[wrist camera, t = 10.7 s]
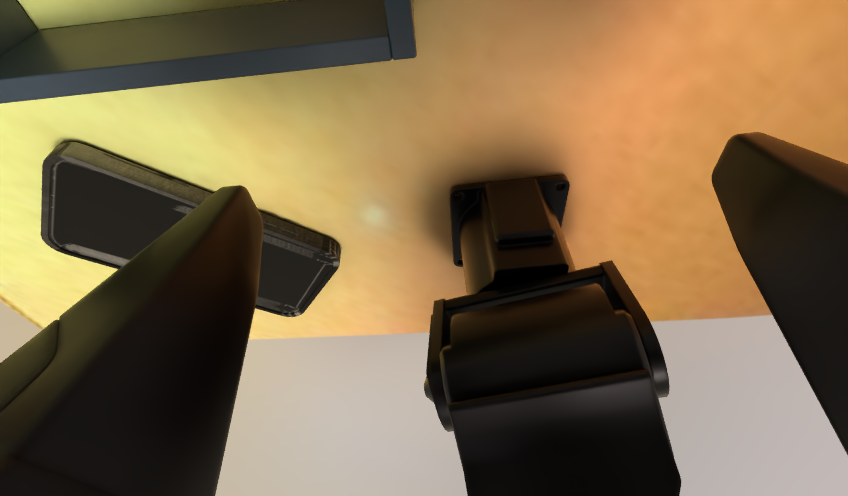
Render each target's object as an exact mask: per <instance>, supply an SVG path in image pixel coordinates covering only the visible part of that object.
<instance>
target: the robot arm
mask: <svg viewBox="0 0 848 496" xmlns="http://www.w3.org/2000/svg"><path fill="white" fill-rule="evenodd" d="M560 183H562V184H561V185H559V186H556V185H558V184H560ZM712 184H713V187H714V190H715V192H716V195H717V197H718V200H719V203H720V205H721V208H722V210H723V213H724V216H725V218H726V221H727V223H728V226H729V228H730V231H731V234H732V236H733V239H734V241H735V244H736V246H737V248H738V251H739V253H740V255H741V257H742V259H743V261H744V263H745V265H746V266H747V268H748V270H749V272H750V274H751V276H752V278H753V279H754V281H755V283H756V285H757V287H758V289H759V291H760V292H761V294H762V296H763V298H764V300H765V302H766V304H767V306H768V307H769V309H770V311H771V313H772V315H773V317H774V319H775V320H776V322H777V324H778V326H779V328H780V330H781V331H782V333H783V335H784V337H785V339H786V341H787V343H788V345H789V347H790V348H791V350H792V352H793V354H794V356H795V358H796V360H797V361H798V363H799V365H800V367H801V369H802V371H803V373H804V375H805V376H806V378H807V380H808V382H809V384H810V386H811V388H812V389H813V391H814V393H815V395H816V397H817V399H818V401H819V402H820V404H821V406H822V408H823V410H824V412H825V414H826V416H827V417H828V419H829V421H830V423H831V425H832V427H833V429H834V430H835V432H836V434H837V436H838V438H839V440H840V442H841V443H842V445H843V447H844V449H845V451H846V453H847V455H848V164H845V163H843V162H840V161H837V160H835V159H832V158H829V157H826V156H824V155H821V154H818V153H815V152H813V151H810V150H807V149H805V148H802V147H799V146H796V145H794V144H791V143H788V142H786V141H783V140H780V139H777V138H775V137H772V136H769V135H767V134H764V133H760V132H753V133H744V134H737V135H734V136H733V137H731V138H730V139H729V140H728V142H727V144H726V146H725V148H724V150H723V152H722V154H721V156H720V158H719V160H718V162H717V164H716V166H715V168H714V170H713V173H712ZM568 191H569V181H568V179H567V177H566V176H564V175H555V176H545V177H535V178H524V179H514V180H504V181H494V182H484V183H473V184H463V185H456V186H454V187H452V188H451V189H450V192H449V197H450V213H451V229H452V245H453V260H454V264H455V265H456V266H459V267H464V275H465V282H466V290H467V295H466V296H462V297H458V298H453V299H449V300H445V299H441V300H437V301H434V308H433V315H431V324H430V335H429V347H428V358H427V371H426V372H427V373H426V374H427V377H426V380H425V383H424V391H425V395H426V397H427V398H429V399H430V400H431V401H433V402H434V404H435V407H436V410H437V413H438V416H439V419H440V421H441V423H442V425H443V427H444V428H445V430H447V431H448V432H449V431H454V434H455V438H456V442H457V446H458V450H459V455H460V459H461V463H462V466H463V471H464V476H465V482H466V488H467V494H468V496H679V494H680V487H681V478H680V474H679V472H678V469H677V466H676V463H675V460H674V455H673V452H672V447H671V444H670V440H669V436H668V433H667V429H666V425H665V422H664V418H663V414H662V410H661V407H660V403H659V399H658V398H660V397H667V396H668V394H669V378H668V373H667V368H666V364H665V360H664V357H663V353H662V351H661V347H660V344H659V342H658V339H657V336H656V334H655V331H654V329H653V327H652V325H651V323H650V321H649V319H648V317H647V315H646V314H645V312H644V310H643V309H642V307H641V306H640V304H639V302H638V301H637V299H636V298H635V296H634V295H633V293H632V291H631V290H630V288H629V287H628V285H627V284H626V282H625V280H624V279H623V277H622V276H621V274H620V273H619V271H618V269H617V268H616V266H615V265H614V263H613V261H612V260H611V261H607V262H602V263H600V264H599V265H598V266H593V267H589V268H585V269H580V270H576V269H575V266H574V263H573V260H572V258H571V255H570V252H569V249H568V247H567V244H566V241H565V238H564V236H563V233H562V230H561V225H562V220H563V215H564V210H565V206H566V201H567V196H568ZM458 193H461V195H459V196H457V195H456V194H458ZM262 238H263V221H262V218H261V215H260V213H259V211H258V209H257V207H256V205H255V204H254V202H253V200H252V198H251V196H250V194H249V192H248V190H247V189H246V188H245V187H243V186H240V185H239V186H229V187H222V188H220V189H219V190H217V191H216V192H215V193H214V194H212V195H211V196H210V197H209V198H207V199H206V200H205V201H204V202H202V203H201V204H200V205H199V206H197V207H196V208H195V209H194V210H192V211H191V212H190V213H189V214H187V215H186V216H185V217H183V218H182V219H181V220H180V221H178V222H177V223H176V224H175V225H173V226H172V227H171V228H170V229H168V230H167V231H166V232H165V233H163V234H162V235H161V236H160V237H158V238H157V239H156V240H155V241H153V242H152V243H151V244H150V245H148V246H147V247H146V248H145V249H143V250H142V251H141V252H140V253H138V254H137V255H136V256H135V257H133V258H132V259H131V260H130V261H128V262H127V263H126V264H125V265H123V266H122V267H121V268H120V269H118V270H117V271H116V272H115V273H113V274H112V275H111V276H110V277H108V278H107V279H106V280H105V281H103V282H102V283H101V284H100V285H98V286H97V287H96V288H95V289H93V290H92V291H91V292H90V293H88V294H87V295H86V296H85V297H83V298H82V299H81V300H80V301H78V302H77V303H76V304H75V305H73V306H72V307H71V308H70V309H68V310H67V311H66V312H65V313H63V314H62V315H61V316H60V318H59V320H55V321H53V322H52V323H51V324H50V325H48V326H47V327H46V328H45V329H43V330H42V331H41V332H40V333H38V334H37V335H36V336H35V337H34V338H32V339H31V340H30V341H28V342H27V343H26V344H24V345H23V346H22V347H21V348H19V349H18V350H17V351H15V352H14V353H13V354H12V355H10V356H9V357H8V358H7V359H5V360H4V361H3V362H2V363H0V496H215V494H216V489H217V484H218V479H219V475H220V470H221V465H222V461H223V456H224V451H225V446H226V441H227V437H228V432H229V427H230V423H231V418H232V413H233V409H234V404H235V399H236V395H237V390H238V385H239V380H240V376H241V371H242V366H243V361H244V357H245V352H246V347H247V343H248V338H249V333H250V329H251V324H252V319H253V314H254V310H255V305H256V299H257V293H258V285H259V273H260V261H261V250H262ZM460 259H462V260H460Z"/></svg>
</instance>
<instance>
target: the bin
mask: <svg viewBox="0 0 848 496" xmlns="http://www.w3.org/2000/svg"><path fill="white" fill-rule="evenodd" d="M416 55H417V54H416V39H415V25H414V10H413V0H293V1H285V2H276V3H268V4H259V5H250V6H242V7H233V8H225V9H216V10H208V11H199V12H190V13H182V14H173V15H165V16H156V17H148V18H139V19H131V20H122V21H113V22H105V23H96V24H88V25H79V26H71V27H62V28H53V29H45V30H39V31H38V30H37V28H36V27H35V25H34V24H33V23H32V21H31V20H30V19H29V17H28V16H27V14H26V13H25V12H24V10H23V9H22V8H21V6H20V5H19V3H18V2H17V1H16V0H0V103H9V102H18V101H27V100H36V99H45V98H54V97H63V96H72V95H81V94H91V93H100V92H109V91H118V90H127V89H136V88H145V87H154V86H163V85H172V84H181V83H190V82H199V81H208V80H218V79H227V78H236V77H245V76H254V75H263V74H272V73H281V72H290V71H299V70H308V69H317V68H326V67H336V66H345V65H354V64H363V63H372V62H381V61H390V60H392V58H393V60H398V59H407V58H415V57H416Z"/></svg>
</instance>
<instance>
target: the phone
mask: <svg viewBox="0 0 848 496" xmlns="http://www.w3.org/2000/svg"><path fill="white" fill-rule="evenodd" d="M211 195H212V193H210V192H207V191H204V190H202V189H199V188H197V187H194V186H191V185H189V184H186V183H184V182H181V181H178V180H176V179H173V178H171V177H168V176H165V175H163V174H160V173H158V172H155V171H152V170H150V169H147V168H145V167H142V166H139V165H137V164H134V163H132V162H129V161H126V160H124V159H121V158H119V157H116V156H113V155H111V154H108V153H105V152H103V151H100V150H98V149H95V148H92V147H90V146H87V145H84V144H81V143H77V142H64V143H61V144H59V145H58V146H57V147H56V148H55V149H54V150H53V151H52V152H51V153H50V154H49V155H48V156H47V157H46V159H45V160H44V162H43V166H42V212H41V236H42V239H43V241H44V242H45V243H46V244H47V245H48V246H50V247H51V248H53V249H55V250H56V251H58V252H61V253H64V254H67V255H71V256H74V257H78V258H81V259H85V260H88V261H92V262H95V263H99V264H102V265H106V266H109V267H113V268H116V269H120V268H121V267H122V266H123V265H125V264H126V263H127V262H128V261H130V260H131V259H132V258H133V257H135V256H136V255H137V254H138V253H140V252H141V251H142V250H143V249H145V248H146V247H147V246H148V245H150V244H151V243H152V242H153V241H155V240H156V239H157V238H158V237H160V236H161V235H162V234H163V233H165V232H166V231H167V230H168V229H170V228H171V227H172V226H173V225H175V224H176V223H177V222H178V221H180V220H181V219H182V218H183V217H185V216H186V215H187V214H189V213H190V212H191V211H192V210H194V209H195V208H196V207H197V206H199V205H200V204H201V203H202V202H204V201H205V200H206V199H207V198H209V197H210V196H211ZM259 213H260V215H261V218H262V221H263V238H262V250H261V261H260V273H259V285H258V293H257V299H256V305H255V308H256V309H260V310H263V311H267V312H270V313H274V314H277V315H281V316H286V317H295V316H299V315H301V314H302V313H304V312H305V310H306V309H307V308H308V306H309V305H310V304H311V303H312V301H313V300H314V299H315V297H316V296H317V295H318V294H319V292H320V291H321V290H322V288H323V287H324V286H325V285H326V283H327V282H328V281H329V280H330V278H331V277H332V276H333V274H334V273H335V272H336V271H337V269H338V267H339V263H340V255H341V248H340V247H339V245H338V244H337V243H336V242H335V241H333V240H331V239H329V238H327V237H324V236H322V235H319V234H316V233H314V232H311V231H309V230H306V229H303V228H301V227H298V226H296V225H293V224H290V223H288V222H285V221H283V220H280V219H277V218H275V217H272V216H270V215H267V214H264V213H262V212H259Z"/></svg>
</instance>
